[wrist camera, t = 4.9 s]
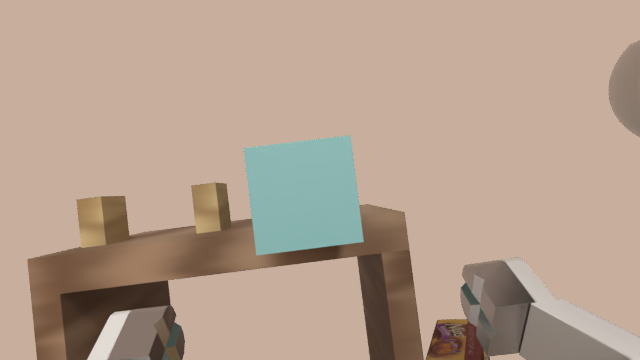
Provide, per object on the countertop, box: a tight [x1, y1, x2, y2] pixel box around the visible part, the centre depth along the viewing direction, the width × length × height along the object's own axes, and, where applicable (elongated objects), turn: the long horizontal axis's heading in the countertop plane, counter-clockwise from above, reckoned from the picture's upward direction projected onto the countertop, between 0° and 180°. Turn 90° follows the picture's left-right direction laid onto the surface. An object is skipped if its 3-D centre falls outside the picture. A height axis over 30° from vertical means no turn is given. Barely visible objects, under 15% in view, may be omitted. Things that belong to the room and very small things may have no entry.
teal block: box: [244, 136, 364, 256], centre depth 22 cm, size 3×22×3 cm, turn 1°
